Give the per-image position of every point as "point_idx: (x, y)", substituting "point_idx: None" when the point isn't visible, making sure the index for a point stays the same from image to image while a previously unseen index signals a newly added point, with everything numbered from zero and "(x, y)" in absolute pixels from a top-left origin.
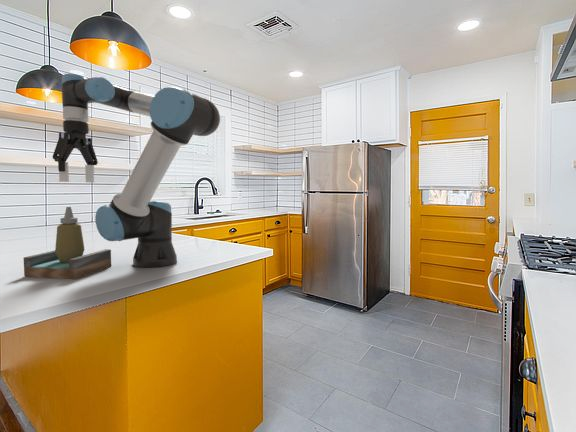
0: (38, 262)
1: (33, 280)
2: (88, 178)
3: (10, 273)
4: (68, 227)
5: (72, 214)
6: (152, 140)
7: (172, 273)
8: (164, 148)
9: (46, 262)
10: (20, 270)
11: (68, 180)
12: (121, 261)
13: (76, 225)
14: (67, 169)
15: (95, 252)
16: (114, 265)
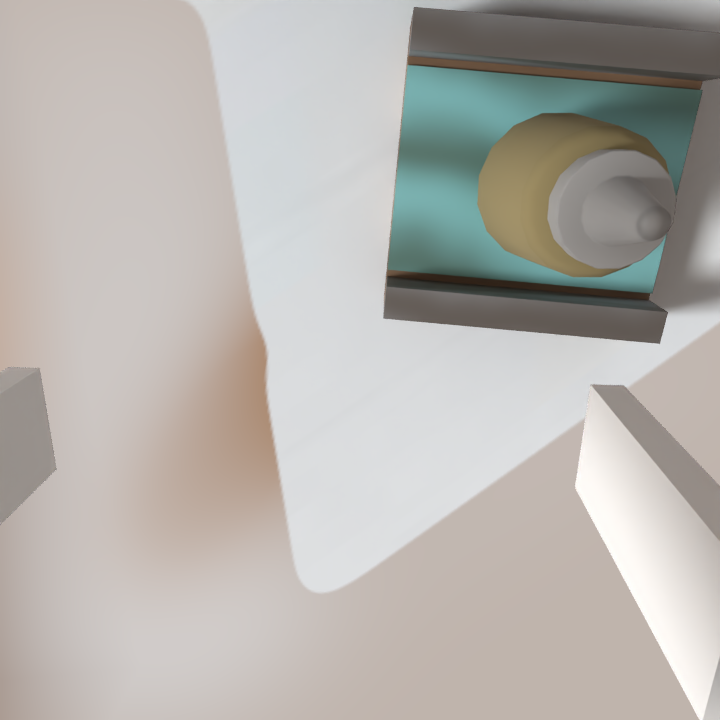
0: (603, 298)
1: (691, 235)
2: (17, 457)
3: (563, 411)
4: (666, 164)
5: (628, 184)
6: None
7: None
8: None
9: (554, 291)
10: (510, 411)
11: (603, 391)
12: (283, 36)
13: (622, 135)
14: (693, 475)
15: (519, 49)
16: (387, 19)
